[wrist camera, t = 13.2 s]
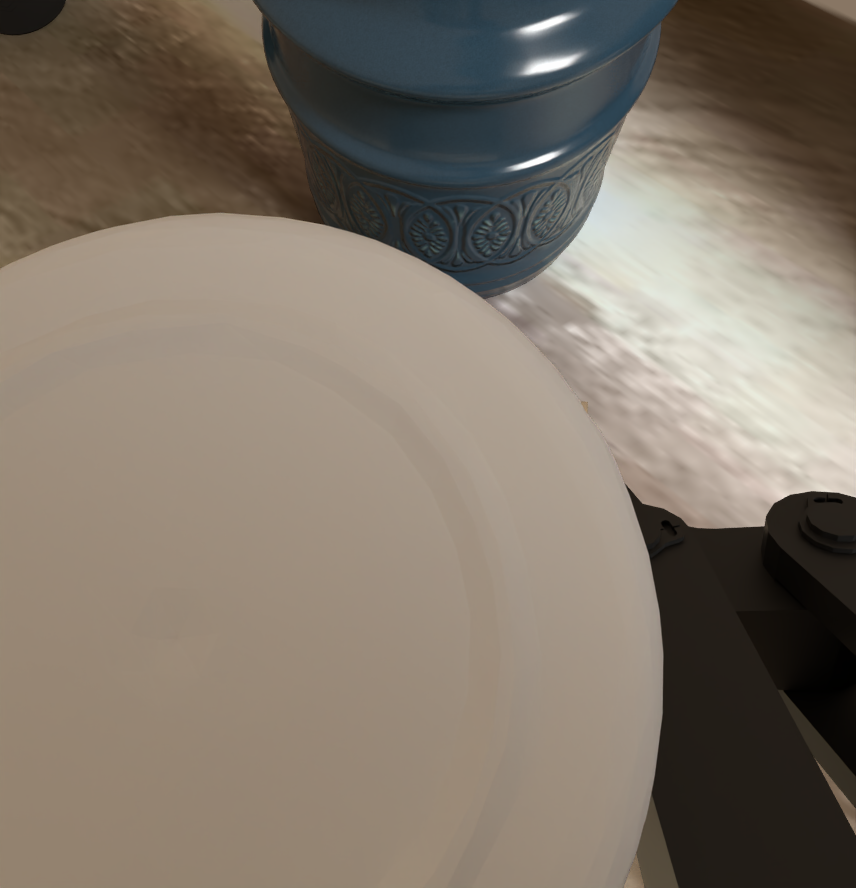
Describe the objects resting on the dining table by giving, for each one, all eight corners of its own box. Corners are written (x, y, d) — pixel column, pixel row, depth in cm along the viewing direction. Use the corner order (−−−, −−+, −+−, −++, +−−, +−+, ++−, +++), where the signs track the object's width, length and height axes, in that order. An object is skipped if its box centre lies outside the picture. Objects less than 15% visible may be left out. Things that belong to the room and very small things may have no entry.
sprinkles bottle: (376, 701, 15) (-96, 1756, 2) (280, 561, 16) (-546, 540, 2) (509, 592, 15) (944, 755, 2) (410, 464, 16) (296, 24, 3)
